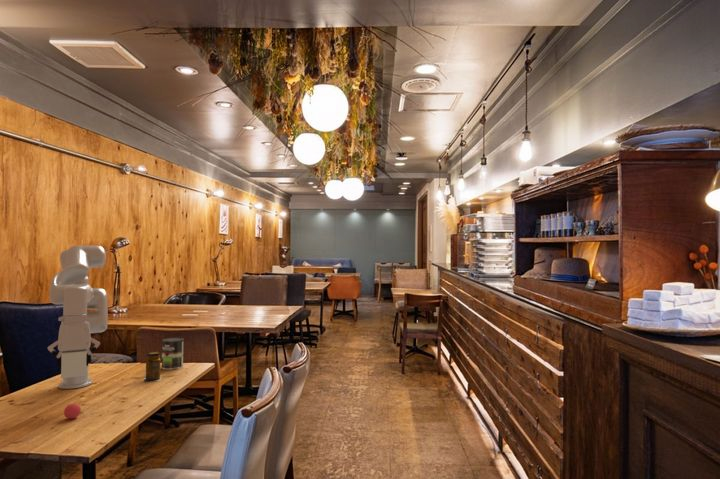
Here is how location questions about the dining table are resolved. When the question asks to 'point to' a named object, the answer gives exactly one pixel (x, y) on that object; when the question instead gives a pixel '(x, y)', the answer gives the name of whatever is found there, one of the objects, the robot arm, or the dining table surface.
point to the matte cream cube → (73, 363)
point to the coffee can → (172, 353)
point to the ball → (72, 411)
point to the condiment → (153, 367)
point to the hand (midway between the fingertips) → (74, 366)
